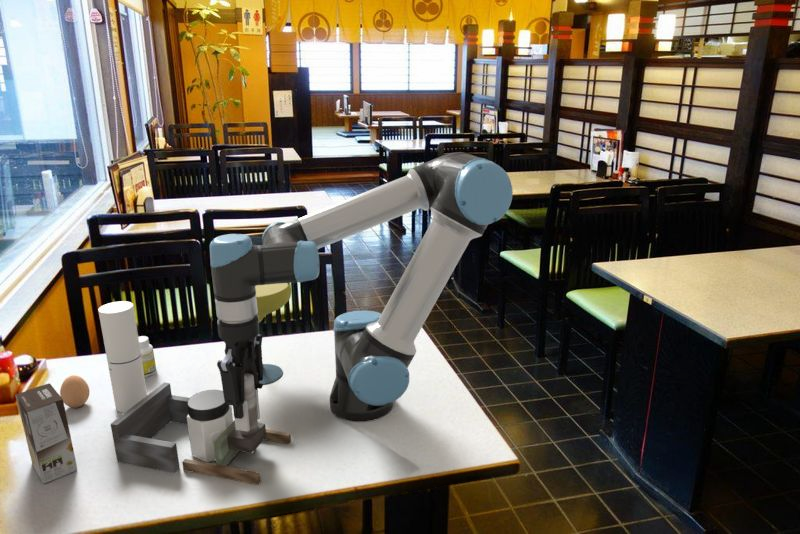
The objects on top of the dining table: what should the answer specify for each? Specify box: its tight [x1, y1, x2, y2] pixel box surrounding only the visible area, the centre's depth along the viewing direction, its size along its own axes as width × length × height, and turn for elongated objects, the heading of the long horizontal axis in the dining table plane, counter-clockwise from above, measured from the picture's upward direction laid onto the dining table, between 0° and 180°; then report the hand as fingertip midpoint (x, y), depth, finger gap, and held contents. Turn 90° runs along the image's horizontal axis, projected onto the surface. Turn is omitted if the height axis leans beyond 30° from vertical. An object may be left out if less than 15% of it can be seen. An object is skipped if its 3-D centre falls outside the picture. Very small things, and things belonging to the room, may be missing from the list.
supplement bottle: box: [138, 335, 157, 378], centre depth 154 cm, size 5×5×10 cm
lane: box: [110, 382, 292, 485], centre depth 122 cm, size 31×17×9 cm, turn 75°
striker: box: [213, 373, 267, 467], centre depth 119 cm, size 7×11×18 cm, turn 165°
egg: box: [59, 374, 90, 409], centre depth 139 cm, size 6×6×8 cm
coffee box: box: [15, 382, 78, 484], centre depth 116 cm, size 9×6×16 cm
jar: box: [187, 389, 234, 463], centre depth 122 cm, size 9×8×12 cm
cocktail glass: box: [255, 283, 292, 385], centre depth 150 cm, size 18×18×25 cm
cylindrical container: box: [97, 300, 148, 413], centre depth 137 cm, size 7×7×25 cm
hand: (248, 423), depth 119 cm, fingers closed on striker, 4 cm apart
